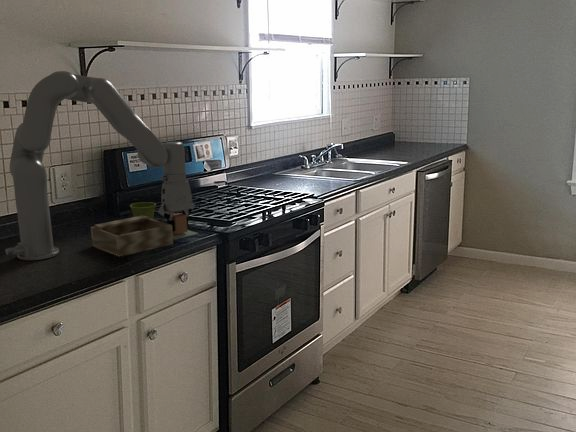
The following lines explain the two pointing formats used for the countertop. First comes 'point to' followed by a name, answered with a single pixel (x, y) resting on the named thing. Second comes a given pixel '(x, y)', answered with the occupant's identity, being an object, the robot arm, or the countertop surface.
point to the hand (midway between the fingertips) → (178, 228)
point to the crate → (131, 235)
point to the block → (180, 223)
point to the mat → (184, 235)
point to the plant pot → (143, 209)
